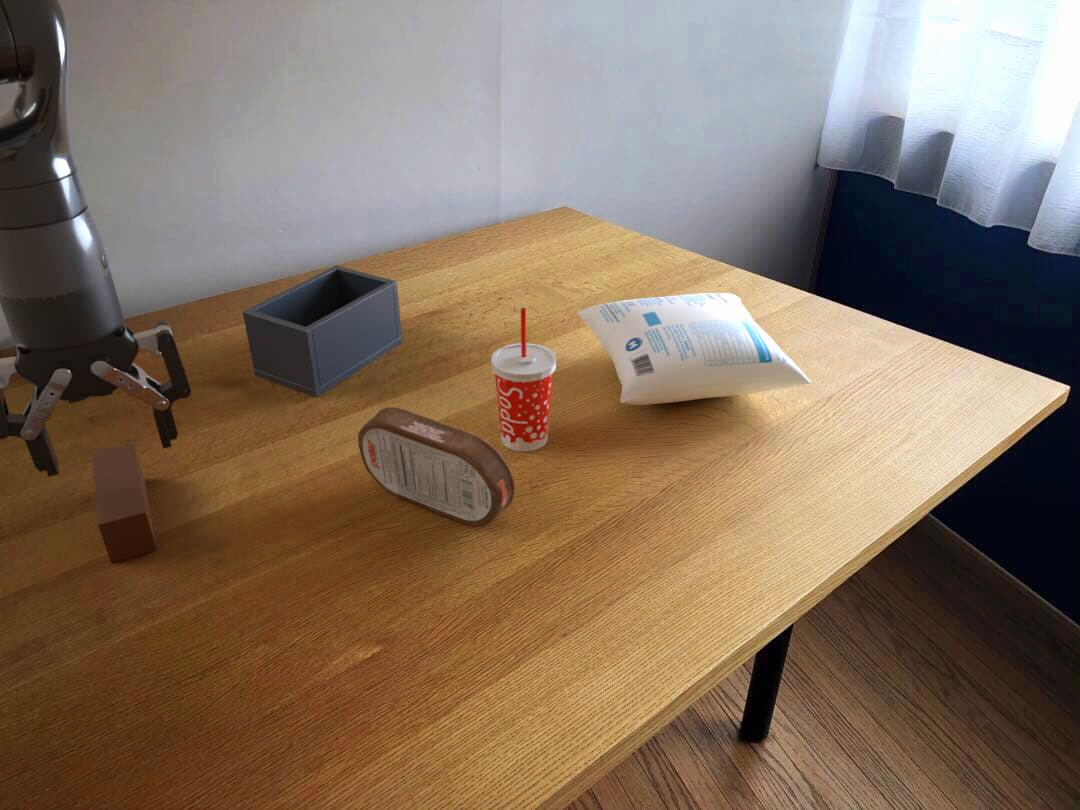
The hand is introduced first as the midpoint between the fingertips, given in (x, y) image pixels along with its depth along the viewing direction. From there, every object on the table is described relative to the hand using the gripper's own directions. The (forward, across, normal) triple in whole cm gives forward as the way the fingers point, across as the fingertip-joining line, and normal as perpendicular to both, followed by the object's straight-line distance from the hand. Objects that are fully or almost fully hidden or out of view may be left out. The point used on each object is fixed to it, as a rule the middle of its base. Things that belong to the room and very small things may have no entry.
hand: (111, 456), depth 71 cm
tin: (+7, -24, +10) cm, 27 cm away
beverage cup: (+7, -36, +4) cm, 37 cm away
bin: (+6, -23, -20) cm, 31 cm away
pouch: (+7, -57, +1) cm, 57 cm away
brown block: (+6, 0, 0) cm, 6 cm away
